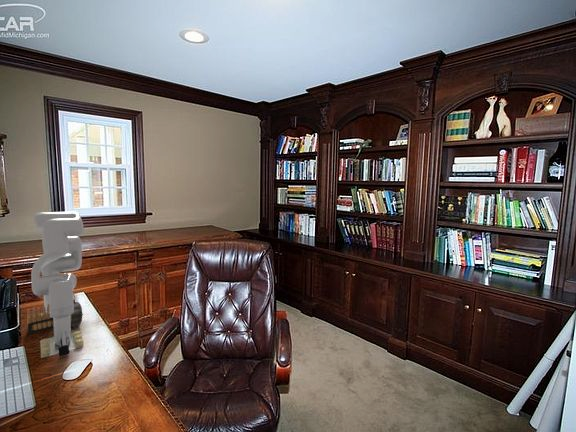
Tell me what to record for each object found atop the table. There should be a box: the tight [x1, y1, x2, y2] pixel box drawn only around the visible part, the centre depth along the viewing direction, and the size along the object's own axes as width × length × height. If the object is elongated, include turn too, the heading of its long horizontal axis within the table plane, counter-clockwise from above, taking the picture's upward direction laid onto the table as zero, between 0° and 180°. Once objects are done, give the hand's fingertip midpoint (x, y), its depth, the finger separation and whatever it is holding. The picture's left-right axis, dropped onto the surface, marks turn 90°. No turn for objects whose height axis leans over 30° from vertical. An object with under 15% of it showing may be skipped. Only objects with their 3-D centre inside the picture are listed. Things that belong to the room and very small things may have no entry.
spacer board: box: [40, 330, 85, 359], centre depth 128 cm, size 17×14×3 cm
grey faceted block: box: [55, 340, 70, 350], centre depth 125 cm, size 4×5×2 cm
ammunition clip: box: [26, 304, 53, 335], centre depth 139 cm, size 11×2×12 cm, turn 135°
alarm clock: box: [70, 293, 84, 331], centre depth 143 cm, size 11×5×16 cm, turn 48°
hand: (64, 354), depth 119 cm, fingers closed
